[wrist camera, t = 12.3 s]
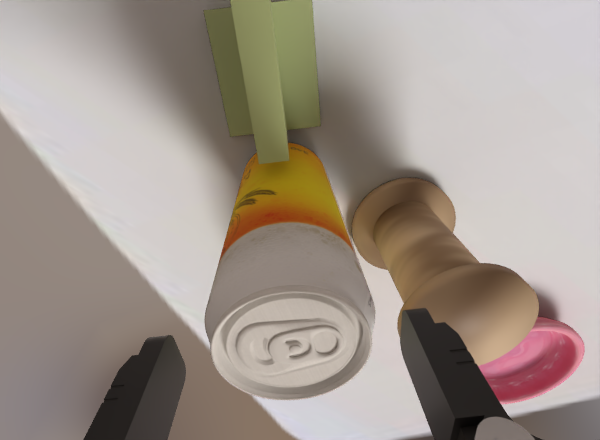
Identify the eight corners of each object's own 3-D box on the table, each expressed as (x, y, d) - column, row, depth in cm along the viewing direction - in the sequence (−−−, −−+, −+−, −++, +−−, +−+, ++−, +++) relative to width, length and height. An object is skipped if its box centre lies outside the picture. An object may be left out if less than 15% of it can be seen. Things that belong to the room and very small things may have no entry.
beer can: (233, 148, 22) (167, 300, 9) (319, 131, 22) (379, 263, 9) (254, 222, 25) (227, 418, 12) (330, 208, 25) (388, 392, 12)
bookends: (310, -1, 18) (326, -23, 12) (331, 286, 29) (345, 351, 23) (206, 11, 18) (169, -5, 12) (265, 293, 29) (261, 361, 23)
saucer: (518, 385, 38) (536, 411, 36) (425, 374, 36) (437, 401, 33) (586, 311, 33) (614, 336, 30) (481, 292, 30) (501, 317, 28)
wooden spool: (456, 171, 24) (570, 255, 14) (443, 257, 28) (527, 367, 18) (350, 184, 24) (396, 276, 14) (352, 268, 28) (390, 383, 18)
